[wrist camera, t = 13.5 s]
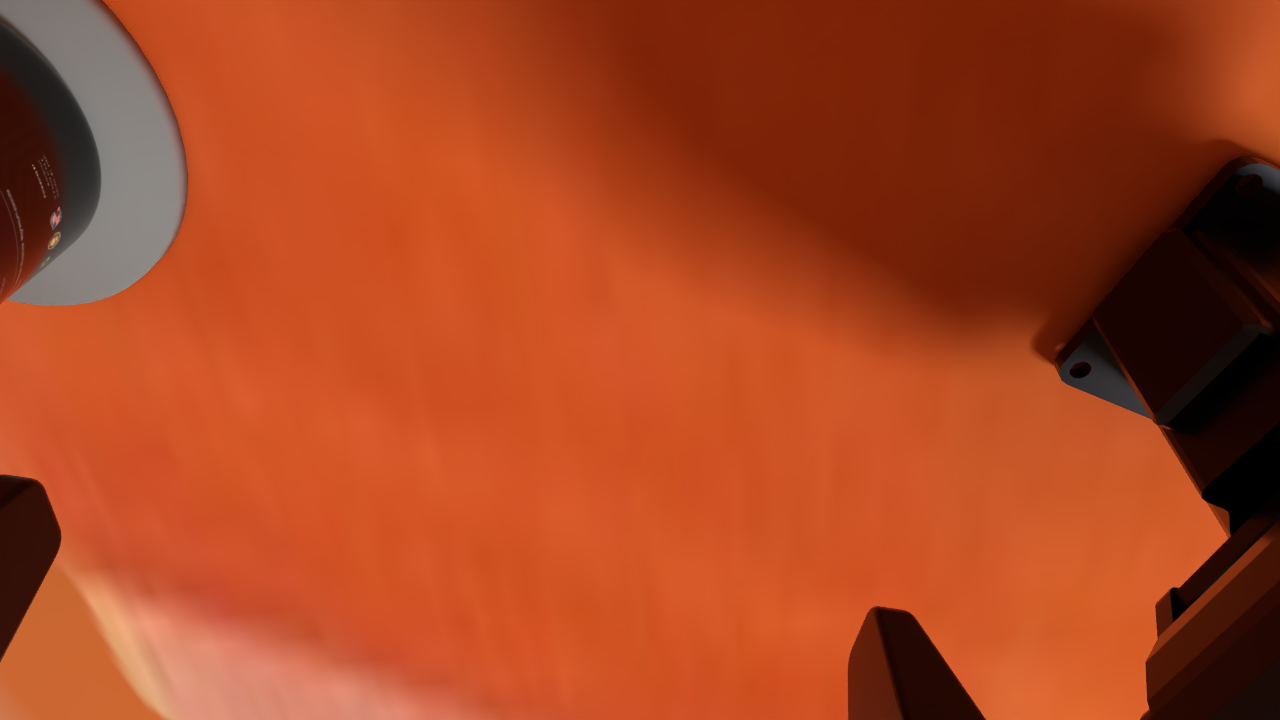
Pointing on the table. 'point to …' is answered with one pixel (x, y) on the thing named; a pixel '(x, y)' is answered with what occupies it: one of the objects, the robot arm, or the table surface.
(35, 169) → the supplement bottle
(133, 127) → the coaster
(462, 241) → the table surface
